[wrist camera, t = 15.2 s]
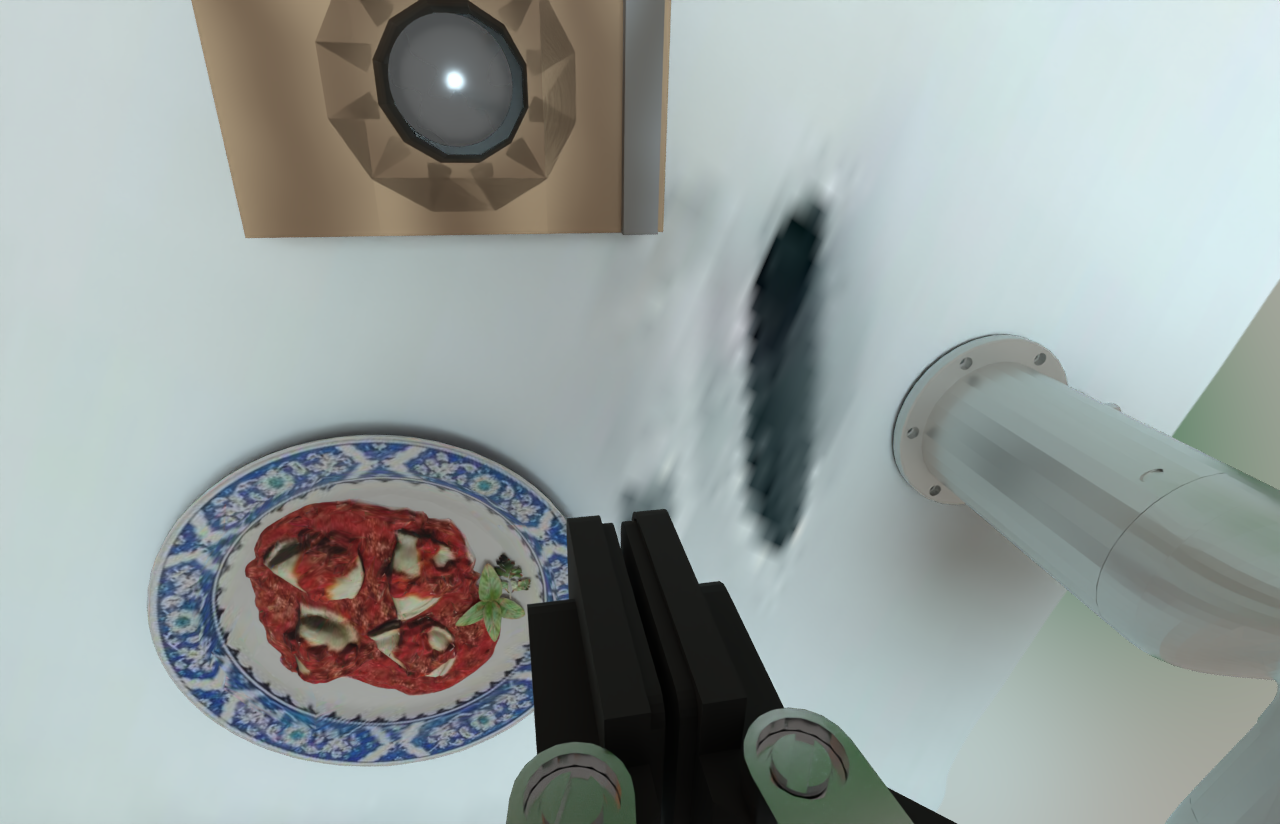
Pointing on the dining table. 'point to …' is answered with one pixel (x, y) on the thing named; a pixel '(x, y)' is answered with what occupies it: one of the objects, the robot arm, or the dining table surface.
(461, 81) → the grey cylinder
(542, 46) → the block
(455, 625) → the ceramic plate
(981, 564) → the dining table surface
